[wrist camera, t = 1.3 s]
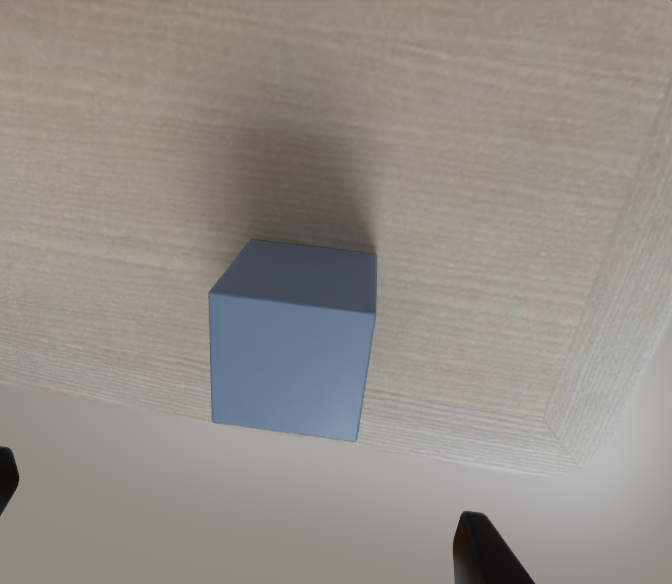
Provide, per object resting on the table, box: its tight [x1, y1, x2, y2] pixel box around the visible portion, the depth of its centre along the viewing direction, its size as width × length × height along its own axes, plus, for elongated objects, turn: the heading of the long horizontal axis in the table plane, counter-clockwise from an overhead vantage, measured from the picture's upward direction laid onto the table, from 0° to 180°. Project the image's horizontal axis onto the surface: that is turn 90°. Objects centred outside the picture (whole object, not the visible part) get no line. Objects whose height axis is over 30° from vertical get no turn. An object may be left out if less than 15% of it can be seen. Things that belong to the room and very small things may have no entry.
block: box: [209, 239, 377, 442], centre depth 15 cm, size 4×4×4 cm
